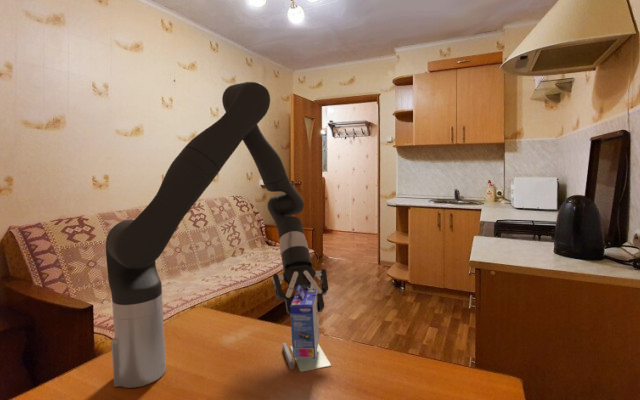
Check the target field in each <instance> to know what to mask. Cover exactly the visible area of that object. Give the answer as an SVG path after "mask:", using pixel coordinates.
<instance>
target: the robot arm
mask: <svg viewBox="0 0 640 400" xmlns="http://www.w3.org/2000/svg"><path fill="white" fill-rule="evenodd" d="M222 105H223V106H222V107H223V109H224V111H225V113H224V114H223V115H222V116H220V118H219V119H218V120H217V121H216V122H214V123H213V124H211V125H210V126H208V127H207V128H206V129H204V130H203V131H201V132H200V133H198V135H196V136H195V137H194V138H192V139H191V140H190V141H189V142H188V143H187V144H186V145H185V146H184V147H183V149H182V150H181V151H180V152H179V153H178V155H177V156H176V157H175V158H174V160H172V162H171V164H170V165H169V167H168V168H167V171H166V173H165V175H164V177H163V179H162V182H161V185H160V186H159V188H158V191H157V192H156V194H155V196H154V197H153V199H152V200H151V201H150V202H149V204H148V205H147V206H146V207H144V209H143V210H142V211H141V212H140V214H138V216H137V217H135V218H134V219H127V220H122V221H120V222H118V223H116V224H115V225H114V226H112V227H111V228H110V230H109V232H108V233H107V236H106V239H105V256H106V257H105V258H106V269H107V270H106V271H107V279H108V285H109V289H110V293H111V304H112V319H113V331H114V332H113V333H114V337H113V339H112V340H111V345H110V346H111V357H112V372H113V375H112V376H113V386H114V388H115V387H121V388H122V387H123V388H126V389H127V388H129V389H131V388H133V389H134V388H138V387H144V386H147V385H149V384H151V383H154V382H156V381H158V380H159V379H160V378H161V377H162V376H164V374H165V373H166V370H167V365H166V364H167V359H166V347H165V346H166V341H165V327H164V326H165V325H164V306H163V288H162V286H163V285H162V281H161V277H160V276H159V273H158V271H157V270H158V269H157V266H156V260H158V259H159V257H161V255H162V253H163V252H164V250H165V249H166V247H167V245H168V244H169V242H170V240H171V239H172V237H173V235H174V234H175V232H176V230H177V228H178V227H179V226H180V223H182V221H183V219H184V218H185V216H186V215H187V214H188V213H189V211H190V210H191V209H192V208H193V206H194V205H195V204H196V202H197V201H199V199H200V197H201V196H202V195H203V193H204V192H205V191H206V189H207V188H208V187H209V186H210V185H211V184H212V182H213V181H214V180H215V178H216V176H217V175H218V174H219V173H220V171H221V170H222V169H223V167H224V165H225V164H226V163H227V161H228V160H229V159H230V158H231V156H232V155H233V154H234V152H235V151H236V150H237V149H238V147H239V145H241V143H242V141H243V143H244V145H245V146H246V148H247V150H248V152H249V154H250V155H251V157H252V159H253V161H254V163H255V166H256V168H257V171H258V173H259V175H260V179H261V180H262V183H263V185H264V187H265V189H266V190H267V191H268V192H271V193H272V192H273V193H275V192H282V193H280V194H278V195H275V196H272V197H270V198H269V200H268V201H267V210H268V212H269V214H270V216H271V217H272V219H273V221H274V223H275V225H276V229H277V233H278V239H279V252H280V253H279V254H280V257H281V262H282V263H281V264H282V268H283V273H282V274H278V273H274V274H273V275H272V284H273V287H274V292H275V293H274V294H275V296H276V299H277V301H284V302H285V309H286V313H287V314H288V315H289V316H290V317H291V312H290V305H291V303H292V300H293V297H292V294H293V291H294V290H295V291H296V290H297V287H298V285H300V286H301V288H302V289H303V290H317V298H318V313H322V312H323V311H324V308H325V301H324V297H323V296H324V295H327V293H328V291H329V283H328V282H329V281H328V276H327V270H326V269H325V268H323V269H321V270H316V269H315V268H314V266H313V263H312V259H311V253H310V250H309V246H308V241H307V239H306V238H307V237H306V236H305V231H304V227H303V223H302V220H301V219H300V218H299V217H296V216H295V215H298V214H300V213H301V212H303V210H304V207H305V206H304V205H305V203H304V199H303V197H302V196H301V194H300V193H299V192H298V190H297V189H296V188H295V187H294V185H293V184H292V182H291V181H290V179H289V177H288V174H287V172H286V169H285V166H284V164H283V161H282V159H281V157H280V155H279V154H278V152H277V150H276V149H275V148H274V147H273V145H272V144H270V142H269V141H268V140H267V139H266V137H265V135H264V134H263V133H262V131H261V129H260V127H259V125H258V124H259V123H260V122H261V120H262V119H264V118H265V116H266V114H267V113H268V111H269V108H270V105H271V95H270V91H269V90H268V88H267V87H266V86H265V85H264V84H262V83H260V82H257V81H246V82H241V83H235V84H233V85H229V86H228V87H226V88H225V90H224V91H223V93H222ZM315 277H316V278H317V280H318V281H320V286H319V285H318V283H317V281H315V279H314V278H315ZM283 281H284V282H286V283H287V285H288V288H287V290H286V292H284V291H283V288H282V285H281V284H282V282H283Z"/></svg>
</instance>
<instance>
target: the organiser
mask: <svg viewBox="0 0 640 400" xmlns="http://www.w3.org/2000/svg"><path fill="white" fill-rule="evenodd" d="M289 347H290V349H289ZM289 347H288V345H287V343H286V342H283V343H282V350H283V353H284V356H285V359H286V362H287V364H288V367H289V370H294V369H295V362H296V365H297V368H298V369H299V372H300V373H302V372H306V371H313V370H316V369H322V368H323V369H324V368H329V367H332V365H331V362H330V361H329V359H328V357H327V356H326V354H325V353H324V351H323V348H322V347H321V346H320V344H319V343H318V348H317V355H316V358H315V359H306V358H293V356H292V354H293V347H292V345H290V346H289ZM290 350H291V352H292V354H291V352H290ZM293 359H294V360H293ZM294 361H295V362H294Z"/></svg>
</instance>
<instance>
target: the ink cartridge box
mask: <svg viewBox="0 0 640 400" xmlns="http://www.w3.org/2000/svg"><path fill="white" fill-rule="evenodd" d="M290 312H291V316H290V327H291V329H290V330H291V342H292V343H291V344H292V345H291V346H292V347H293V353H292V359H295V358H306V359H315V358H316V355H317V348H318V344H319V341H320V325H319V324H320V322H319V312H318V298H317V290H309V289H303V288H301V286H300V285H298V287H297V290H295V293H294V296H293V297H292V303H291V305H290Z"/></svg>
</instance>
